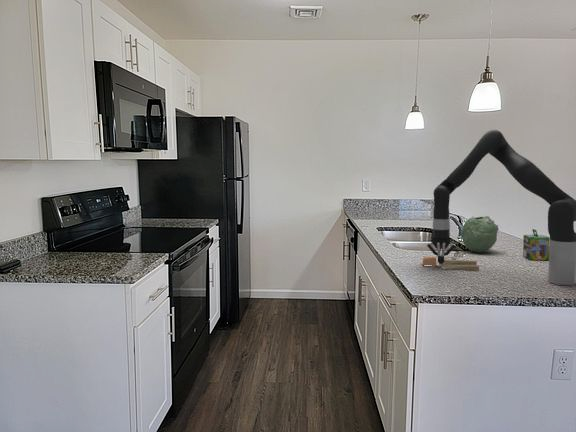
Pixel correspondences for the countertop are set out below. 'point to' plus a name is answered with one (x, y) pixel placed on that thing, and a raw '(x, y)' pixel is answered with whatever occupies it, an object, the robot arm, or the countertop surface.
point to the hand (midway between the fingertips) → (440, 263)
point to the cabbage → (479, 234)
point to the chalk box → (536, 247)
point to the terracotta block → (429, 260)
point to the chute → (460, 265)
